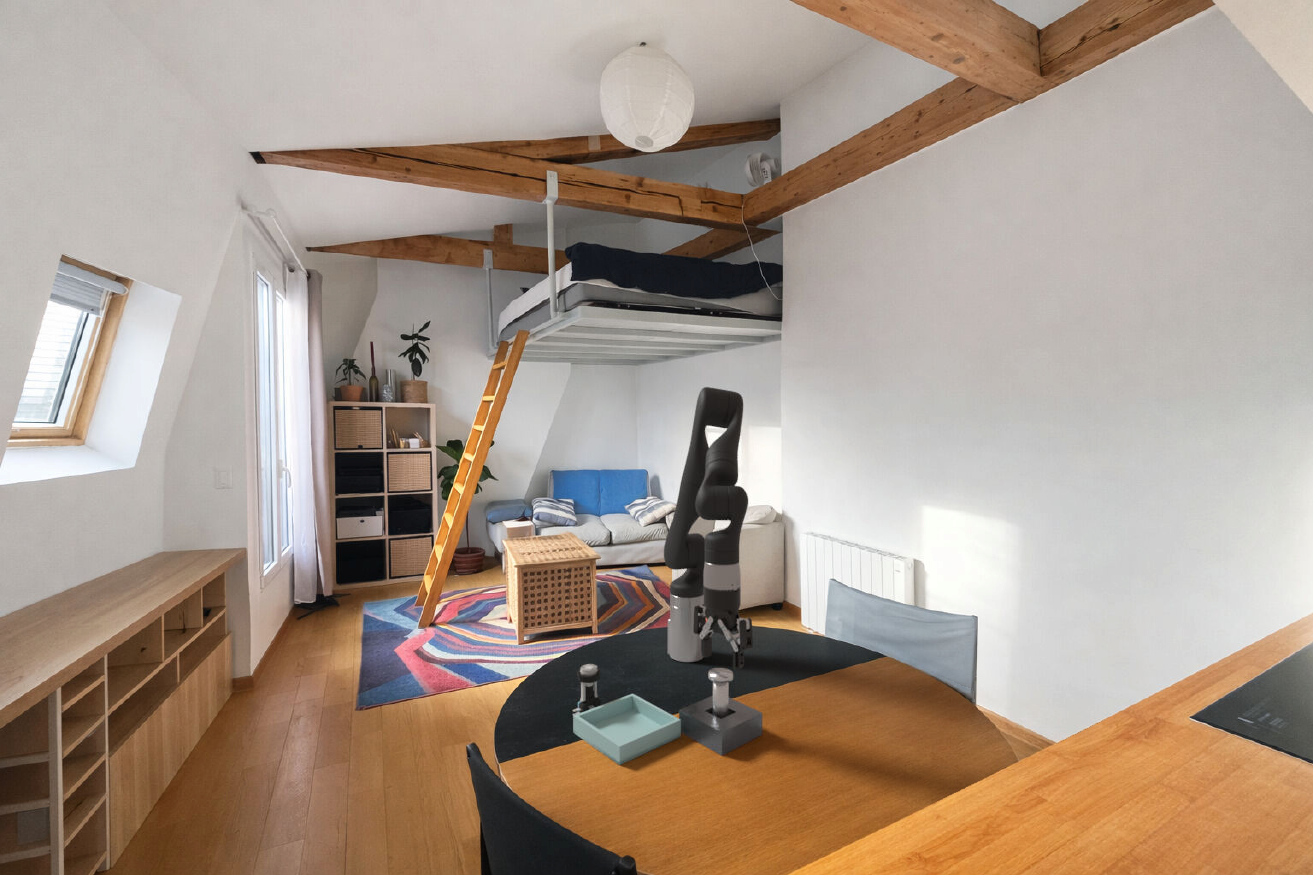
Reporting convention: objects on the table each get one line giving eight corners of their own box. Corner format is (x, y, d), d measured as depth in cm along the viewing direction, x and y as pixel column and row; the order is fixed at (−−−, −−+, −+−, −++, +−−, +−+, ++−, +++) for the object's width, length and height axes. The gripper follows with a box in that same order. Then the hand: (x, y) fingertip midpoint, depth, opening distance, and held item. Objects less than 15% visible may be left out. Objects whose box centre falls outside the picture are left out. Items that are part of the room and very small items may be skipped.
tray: (573, 732, 125) (573, 715, 125) (632, 709, 136) (632, 693, 136) (619, 765, 114) (619, 746, 114) (680, 736, 124) (680, 719, 124)
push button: (579, 722, 130) (579, 675, 129) (566, 712, 134) (566, 667, 134) (605, 713, 134) (605, 668, 133) (593, 704, 138) (592, 660, 138)
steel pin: (703, 732, 126) (703, 672, 125) (719, 724, 129) (720, 665, 129) (721, 742, 122) (721, 680, 122) (737, 733, 125) (738, 673, 125)
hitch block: (679, 731, 126) (679, 709, 126) (719, 713, 134) (719, 692, 134) (721, 755, 117) (721, 732, 117) (762, 734, 125) (762, 712, 125)
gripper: (684, 580, 127) (684, 657, 128) (736, 594, 117) (736, 678, 117) (709, 574, 132) (709, 648, 133) (761, 587, 122) (761, 667, 122)
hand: (722, 662), depth 125 cm, fingers open, 8 cm apart
